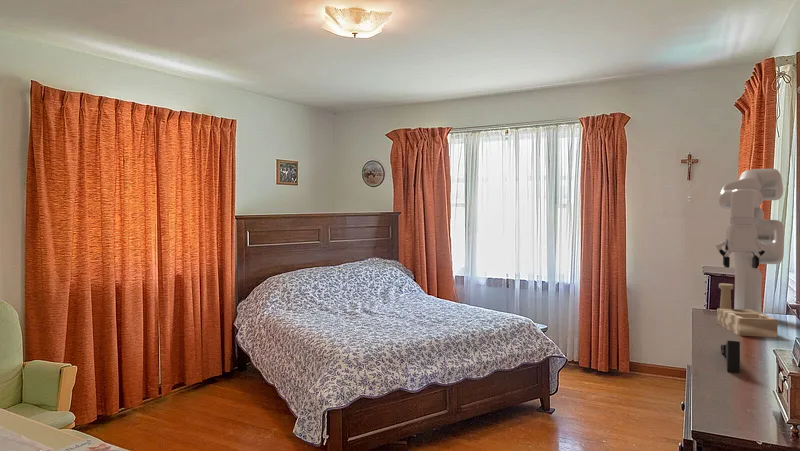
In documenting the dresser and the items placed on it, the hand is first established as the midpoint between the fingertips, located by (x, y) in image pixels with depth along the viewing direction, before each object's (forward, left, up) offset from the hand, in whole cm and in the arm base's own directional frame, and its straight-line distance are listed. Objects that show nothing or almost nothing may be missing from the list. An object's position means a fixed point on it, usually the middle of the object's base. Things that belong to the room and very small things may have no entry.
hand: (740, 267), depth 204 cm
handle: (-9, -1, -23) cm, 25 cm away
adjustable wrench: (+52, -24, -23) cm, 62 cm away
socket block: (+5, 0, -23) cm, 23 cm away
